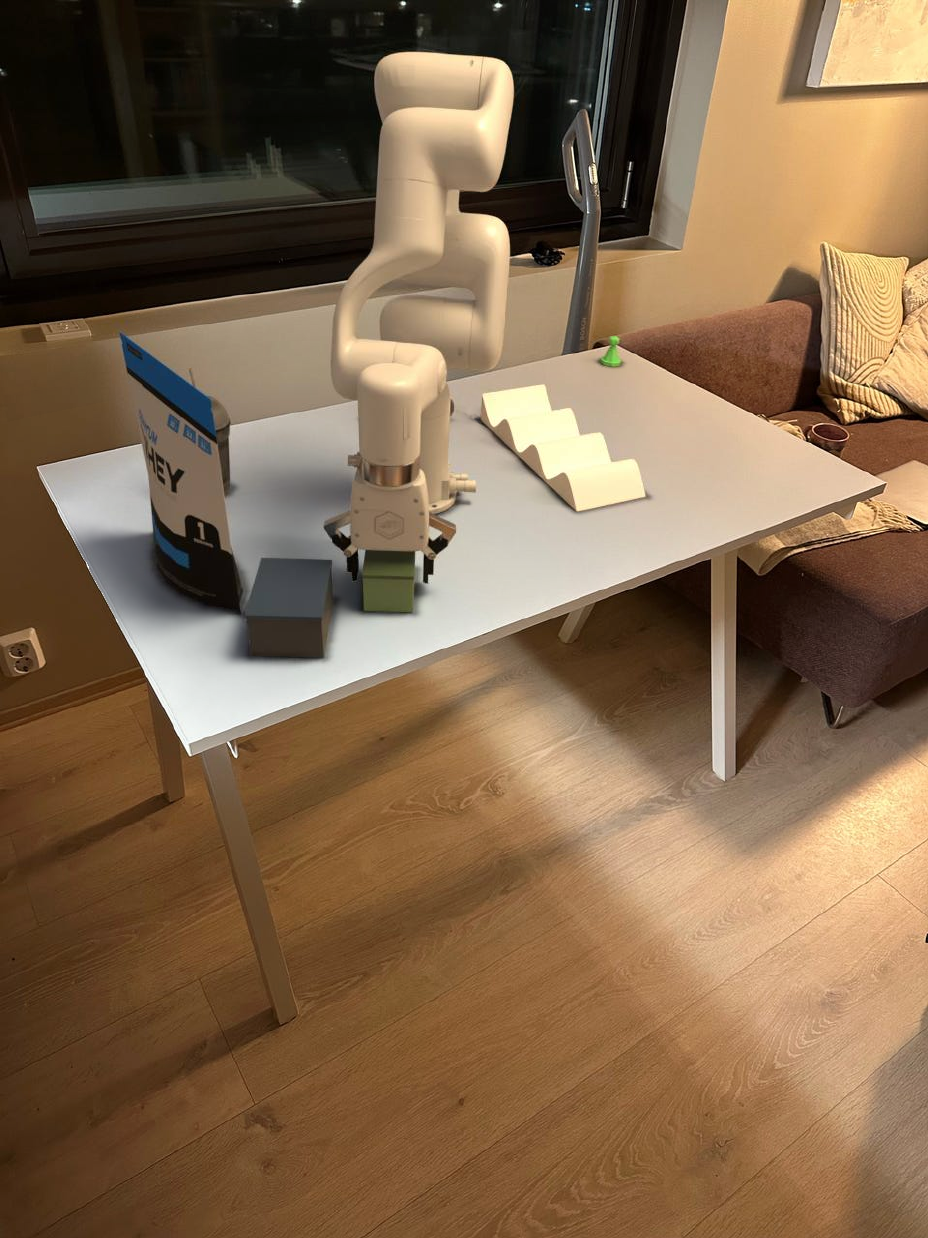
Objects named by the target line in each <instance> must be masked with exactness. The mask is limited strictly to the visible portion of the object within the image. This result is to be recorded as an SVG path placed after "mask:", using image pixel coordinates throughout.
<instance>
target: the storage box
mask: <svg viewBox="0 0 928 1238" xmlns="http://www.w3.org/2000/svg"><path fill="white" fill-rule="evenodd" d="M255 574H256V575H255V578H254V581H253V585H252V588H251V591H250V594H249V598H248V602H247V605H246V609H245V612H244V616H243V617H244V620H245V622H246V630H247V636H248V637H247V638H248V644H249V650H250V651H249V652H250V656H251V657H282V658H319V659H321V658H325V653H326V648H327V647H326V646H327V641H328V637H329V630H330V624H331V617H332V611H333V605H334V599H335V598H334V581H333V559H321V558H320V559H319V558H289V557H288V558H285V557H284V558H283V557H279V558H278V557H261V558H260V561H259V564H258V568H257V572H256V573H255Z"/></svg>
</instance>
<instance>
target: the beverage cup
mask: <svg viewBox="0 0 928 1238" xmlns="http://www.w3.org/2000/svg"><path fill="white" fill-rule="evenodd" d="M188 372H189V375H190V376H189V377H190V379H191V385H193V386H194V387H195V388H197V389H198V385H197V382H196V377H195V374H194V370H193V367H188ZM206 396H207V397H209V398H210V399H211V403H212V407H211V410H212V413H213V417H214V424H215V431H216V438H217V446H218V453H219V460H220V467H221V474H222V481H223V489H224V496H225V495H227V494H228V493H230V491H231V463H230V461H231V460H230V459H231V458H230V433H231V419H230V417H229V413H228V410H227V408H226V407H225V405H224V404H223V403H222V402H221V401H220V400H218V399H217V398H215V397H213V396H211V395H206Z"/></svg>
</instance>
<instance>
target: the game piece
mask: <svg viewBox="0 0 928 1238" xmlns="http://www.w3.org/2000/svg"><path fill="white" fill-rule="evenodd" d="M619 343H620V338H619V337H618V336H616V335H611V336H609V338H608V344H609V347H608V349H607V351H606V353H605V354H604V355H603V356H602V357H601V358H600V363H601V364H602V365H603V366H606V367H611V368H614V367H619V366H620V365H621V363H622V359H620V357H619V353H618V350H617V345H619Z"/></svg>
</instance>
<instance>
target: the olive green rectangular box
mask: <svg viewBox="0 0 928 1238" xmlns="http://www.w3.org/2000/svg"><path fill="white" fill-rule="evenodd" d="M363 556H364V557H363V565H362V573H361V578H362V594H363V595H362V597H363V611H364V612H382V613H383V612H386V613H390V612H391V613H413V612H414V595H415V594H414V592H415V574H416V551H376V550H364V555H363Z"/></svg>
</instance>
